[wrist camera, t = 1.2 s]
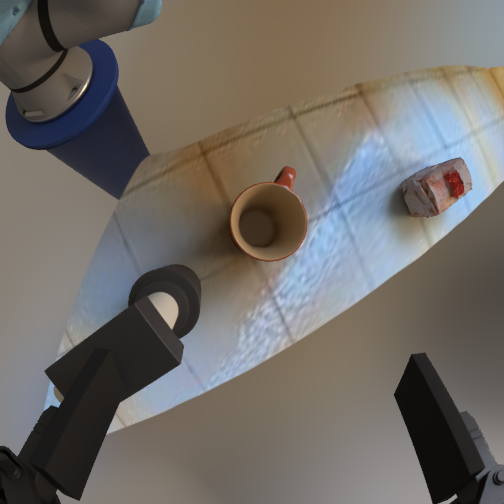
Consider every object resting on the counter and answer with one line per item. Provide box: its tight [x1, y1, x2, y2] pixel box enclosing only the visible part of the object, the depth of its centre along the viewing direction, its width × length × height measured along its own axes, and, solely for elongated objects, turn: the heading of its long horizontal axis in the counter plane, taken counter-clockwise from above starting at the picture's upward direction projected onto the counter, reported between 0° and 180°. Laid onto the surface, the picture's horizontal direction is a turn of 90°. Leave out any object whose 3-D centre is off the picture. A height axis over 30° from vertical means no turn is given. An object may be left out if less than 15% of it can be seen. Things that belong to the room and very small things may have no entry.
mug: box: [229, 166, 307, 261], centre depth 38 cm, size 12×9×10 cm
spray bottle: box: [45, 264, 201, 403], centre depth 27 cm, size 10×7×28 cm
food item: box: [400, 157, 472, 218], centre depth 43 cm, size 14×8×10 cm, turn 119°
